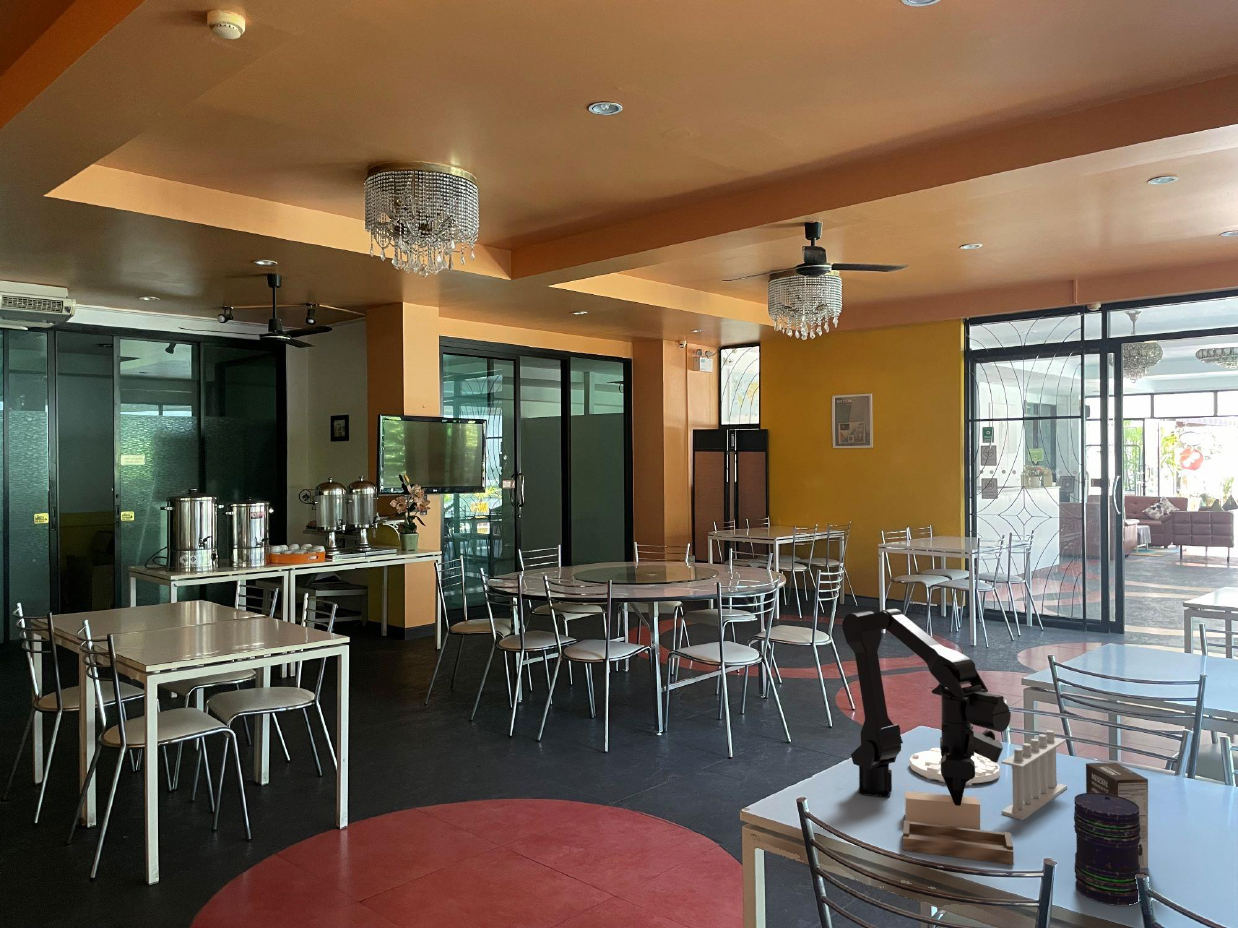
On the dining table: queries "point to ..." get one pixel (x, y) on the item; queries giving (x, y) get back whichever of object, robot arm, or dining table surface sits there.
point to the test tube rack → (1034, 775)
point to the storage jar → (1107, 848)
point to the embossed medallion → (931, 766)
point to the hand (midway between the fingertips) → (957, 796)
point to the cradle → (958, 842)
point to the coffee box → (1122, 794)
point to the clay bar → (942, 810)
